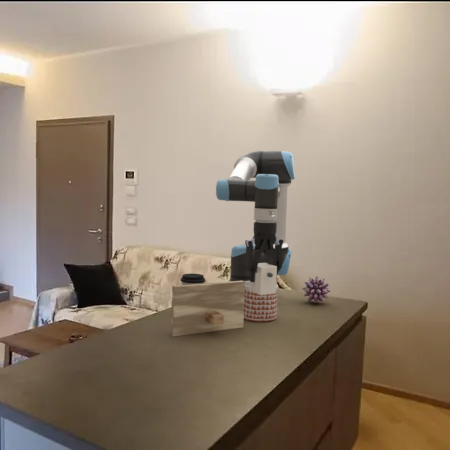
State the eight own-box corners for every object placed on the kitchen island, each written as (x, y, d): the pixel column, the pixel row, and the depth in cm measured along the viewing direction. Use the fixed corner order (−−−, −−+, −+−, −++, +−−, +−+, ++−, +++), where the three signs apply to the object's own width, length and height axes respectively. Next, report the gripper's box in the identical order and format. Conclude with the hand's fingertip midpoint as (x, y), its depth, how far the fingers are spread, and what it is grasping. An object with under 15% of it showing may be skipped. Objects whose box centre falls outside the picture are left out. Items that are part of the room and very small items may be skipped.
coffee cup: (201, 319, 167) (202, 278, 165) (176, 317, 168) (177, 276, 167) (206, 312, 176) (207, 274, 175) (182, 310, 177) (183, 272, 176)
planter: (237, 320, 166) (239, 286, 166) (242, 311, 180) (244, 279, 179) (275, 323, 164) (276, 288, 163) (277, 314, 178) (279, 281, 177)
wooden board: (171, 334, 148) (172, 285, 146) (240, 325, 160) (242, 280, 159) (180, 342, 141) (182, 291, 139) (252, 332, 153) (254, 285, 152)
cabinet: (249, 290, 153) (250, 263, 153) (264, 288, 156) (265, 262, 155) (262, 295, 146) (263, 268, 145) (277, 294, 149) (279, 267, 148)
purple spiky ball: (324, 300, 203) (326, 273, 202) (333, 307, 191) (334, 279, 190) (299, 299, 202) (300, 273, 201) (305, 306, 190) (307, 278, 189)
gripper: (246, 222, 142) (243, 296, 144) (295, 222, 151) (292, 290, 153) (234, 220, 148) (232, 290, 150) (282, 220, 157) (279, 286, 159)
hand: (262, 290), depth 152 cm, fingers closed on cabinet, 6 cm apart
